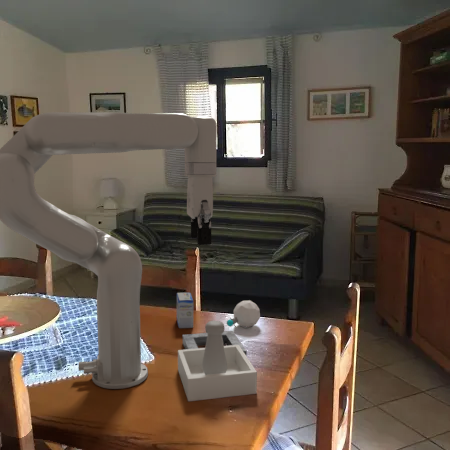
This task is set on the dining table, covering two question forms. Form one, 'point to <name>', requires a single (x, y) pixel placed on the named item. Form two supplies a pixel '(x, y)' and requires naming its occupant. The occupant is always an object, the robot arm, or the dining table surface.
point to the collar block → (200, 339)
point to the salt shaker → (214, 349)
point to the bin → (216, 375)
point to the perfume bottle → (245, 314)
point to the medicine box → (185, 310)
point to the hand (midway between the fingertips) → (200, 240)
